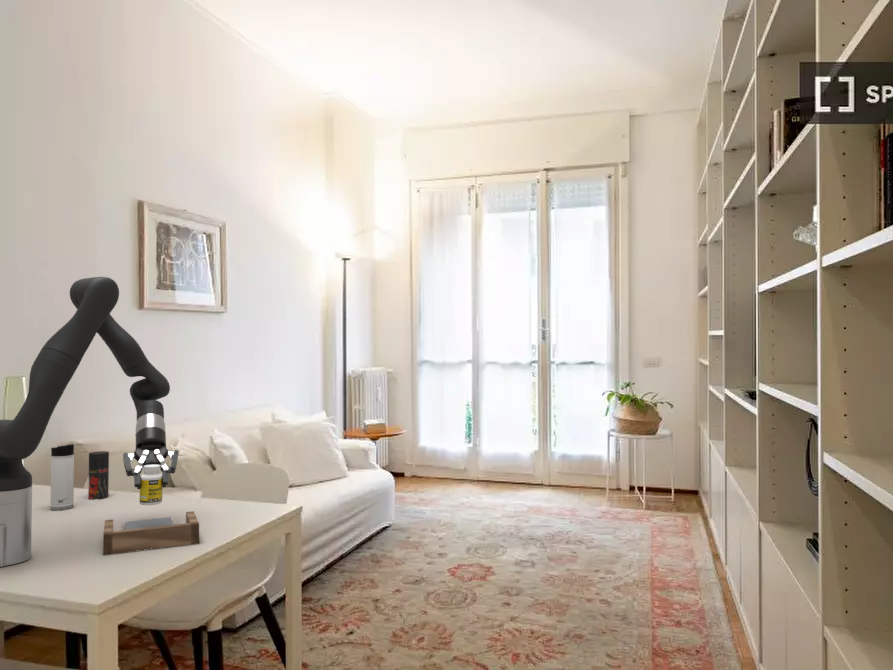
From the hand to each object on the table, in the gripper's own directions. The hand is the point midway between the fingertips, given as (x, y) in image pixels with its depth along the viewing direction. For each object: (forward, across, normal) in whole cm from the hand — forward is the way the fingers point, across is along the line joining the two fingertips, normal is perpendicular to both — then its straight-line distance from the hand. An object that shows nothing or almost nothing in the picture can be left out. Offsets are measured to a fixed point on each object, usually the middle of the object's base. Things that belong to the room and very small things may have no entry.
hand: (151, 486), depth 171 cm
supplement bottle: (+2, 0, +5) cm, 5 cm away
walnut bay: (+9, 0, +12) cm, 15 cm away
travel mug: (-27, -23, +48) cm, 60 cm away
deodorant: (-35, -14, +56) cm, 68 cm away
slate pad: (-3, 0, +24) cm, 24 cm away
